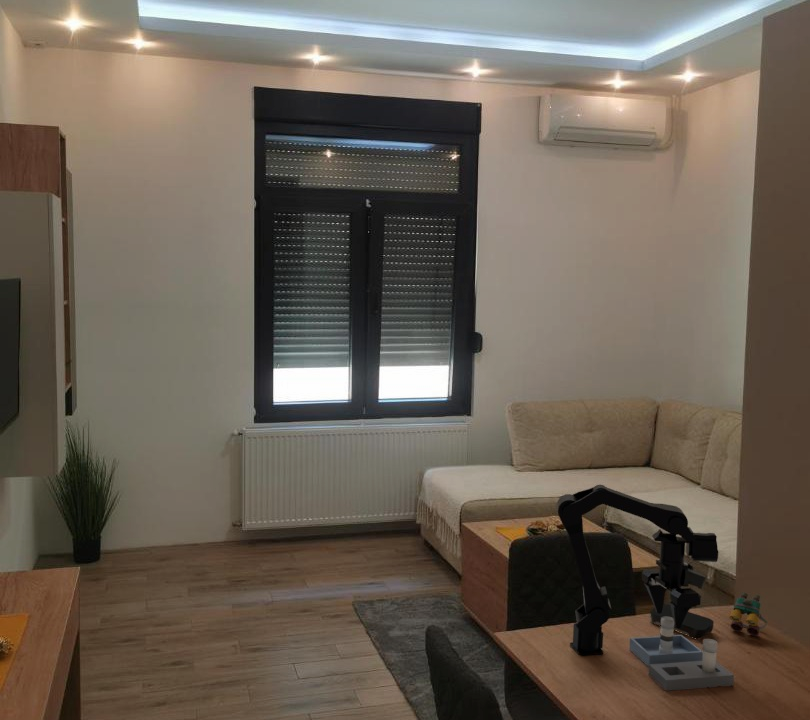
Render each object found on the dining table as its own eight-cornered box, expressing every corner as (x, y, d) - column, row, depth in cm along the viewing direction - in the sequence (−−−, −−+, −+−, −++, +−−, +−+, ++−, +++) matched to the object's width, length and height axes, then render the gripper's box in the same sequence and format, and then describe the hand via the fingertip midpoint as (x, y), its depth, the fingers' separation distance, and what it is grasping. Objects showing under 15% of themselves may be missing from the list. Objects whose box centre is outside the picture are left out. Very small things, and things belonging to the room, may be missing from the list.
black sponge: (716, 634, 225) (717, 621, 225) (699, 642, 219) (700, 628, 219) (662, 615, 237) (663, 602, 237) (645, 622, 232) (645, 609, 231)
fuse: (705, 682, 197) (707, 645, 196) (698, 676, 200) (700, 639, 199) (717, 681, 197) (720, 644, 196) (710, 675, 200) (712, 638, 200)
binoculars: (727, 635, 229) (723, 611, 224) (735, 608, 235) (732, 584, 230) (763, 644, 224) (761, 620, 219) (771, 617, 230) (769, 592, 225)
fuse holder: (665, 690, 192) (666, 680, 192) (648, 674, 200) (649, 664, 199) (733, 685, 195) (733, 675, 195) (713, 669, 203) (714, 659, 203)
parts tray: (648, 667, 203) (649, 655, 203) (629, 649, 213) (629, 637, 213) (702, 663, 206) (703, 651, 206) (680, 646, 216) (681, 634, 216)
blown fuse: (662, 657, 208) (665, 621, 207) (656, 651, 211) (658, 616, 210) (674, 656, 209) (677, 621, 208) (668, 650, 212) (670, 616, 211)
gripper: (723, 570, 200) (719, 634, 201) (682, 545, 218) (678, 604, 220) (680, 572, 198) (676, 636, 199) (642, 547, 216) (639, 606, 217)
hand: (668, 620), depth 209 cm, fingers open, 9 cm apart
